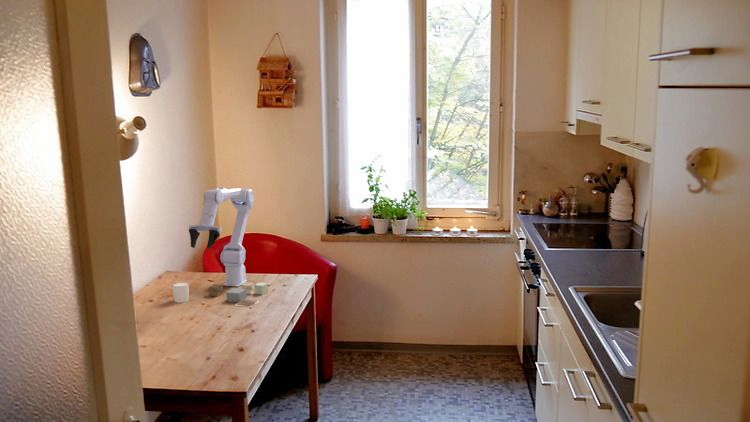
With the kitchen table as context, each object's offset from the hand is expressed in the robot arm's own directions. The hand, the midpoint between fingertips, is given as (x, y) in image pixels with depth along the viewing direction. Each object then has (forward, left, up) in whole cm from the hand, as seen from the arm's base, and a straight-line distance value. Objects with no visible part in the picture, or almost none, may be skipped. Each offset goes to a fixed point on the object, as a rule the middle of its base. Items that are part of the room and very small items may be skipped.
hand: (200, 247), depth 273 cm
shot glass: (+1, -10, -23) cm, 25 cm away
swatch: (-2, +19, -23) cm, 30 cm away
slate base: (-6, +12, -23) cm, 27 cm away
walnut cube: (-10, 0, -23) cm, 25 cm away
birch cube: (-16, +12, -23) cm, 30 cm away
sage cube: (-17, +18, -23) cm, 34 cm away
